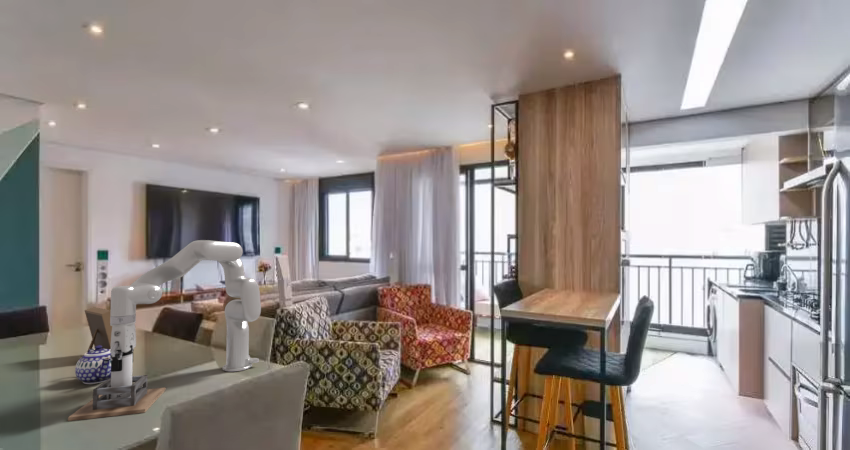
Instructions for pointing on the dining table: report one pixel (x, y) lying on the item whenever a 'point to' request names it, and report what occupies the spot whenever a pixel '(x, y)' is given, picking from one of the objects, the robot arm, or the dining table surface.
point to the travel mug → (123, 375)
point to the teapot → (94, 366)
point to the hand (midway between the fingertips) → (122, 367)
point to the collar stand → (119, 400)
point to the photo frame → (99, 327)
